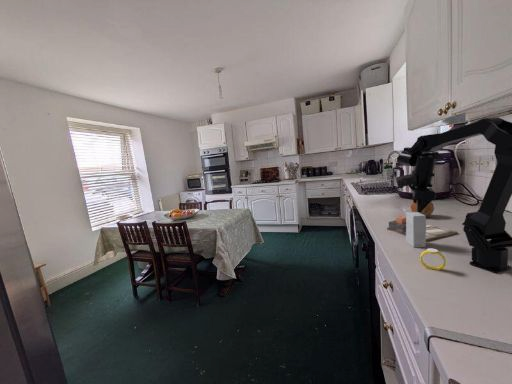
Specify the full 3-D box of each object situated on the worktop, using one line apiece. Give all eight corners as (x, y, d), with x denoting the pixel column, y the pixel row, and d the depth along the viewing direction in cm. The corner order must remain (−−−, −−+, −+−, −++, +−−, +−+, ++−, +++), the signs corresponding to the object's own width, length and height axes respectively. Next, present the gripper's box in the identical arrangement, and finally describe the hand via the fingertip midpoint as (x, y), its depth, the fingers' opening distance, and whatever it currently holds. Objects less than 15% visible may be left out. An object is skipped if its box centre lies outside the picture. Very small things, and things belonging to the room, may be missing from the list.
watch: (420, 269, 68) (419, 250, 67) (421, 265, 70) (419, 247, 70) (446, 272, 64) (444, 252, 64) (445, 268, 66) (444, 249, 66)
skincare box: (426, 247, 81) (426, 215, 80) (413, 247, 82) (413, 216, 81) (418, 241, 87) (417, 211, 86) (405, 241, 88) (405, 212, 86)
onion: (425, 213, 121) (425, 195, 119) (438, 218, 111) (439, 198, 109) (406, 214, 122) (406, 197, 120) (418, 219, 112) (418, 200, 111)
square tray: (457, 233, 90) (457, 224, 90) (425, 241, 86) (425, 232, 85) (415, 223, 107) (415, 215, 107) (387, 229, 103) (386, 221, 103)
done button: (407, 224, 98) (407, 217, 98) (401, 225, 97) (401, 218, 97) (401, 222, 101) (401, 216, 101) (396, 223, 100) (395, 217, 100)
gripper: (396, 163, 94) (391, 197, 99) (401, 174, 78) (395, 214, 84) (428, 163, 89) (421, 199, 94) (441, 176, 73) (431, 218, 79)
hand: (416, 207), depth 88 cm, fingers open, 9 cm apart
